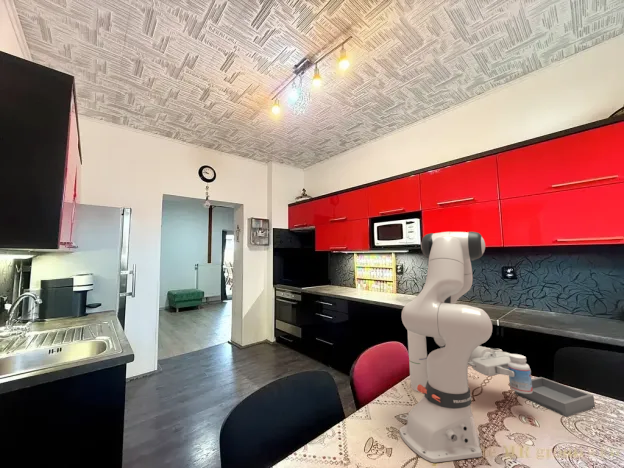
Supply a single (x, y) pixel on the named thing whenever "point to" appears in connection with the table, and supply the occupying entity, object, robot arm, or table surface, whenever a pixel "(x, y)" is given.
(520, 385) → the pill bottle
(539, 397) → the tray
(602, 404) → the table surface
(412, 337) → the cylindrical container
